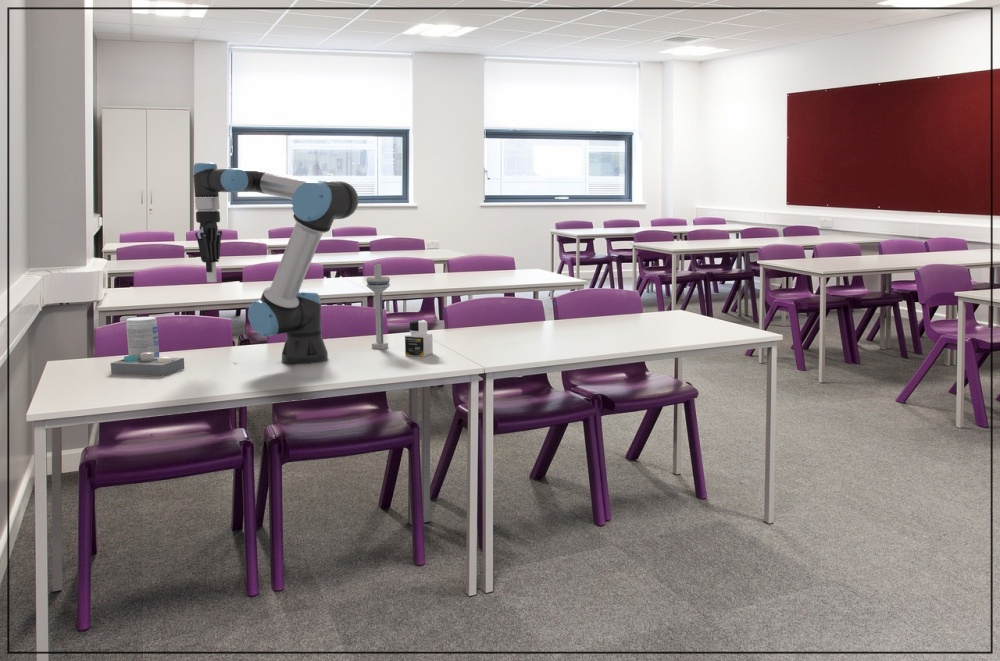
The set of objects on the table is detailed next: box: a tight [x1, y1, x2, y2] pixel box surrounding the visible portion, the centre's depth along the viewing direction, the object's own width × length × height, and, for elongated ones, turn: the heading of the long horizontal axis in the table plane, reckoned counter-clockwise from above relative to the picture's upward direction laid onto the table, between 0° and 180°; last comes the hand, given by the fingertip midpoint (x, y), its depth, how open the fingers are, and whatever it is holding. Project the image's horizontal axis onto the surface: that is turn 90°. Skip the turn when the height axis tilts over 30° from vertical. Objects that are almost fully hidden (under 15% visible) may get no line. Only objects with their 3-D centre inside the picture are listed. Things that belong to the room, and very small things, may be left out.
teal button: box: [123, 355, 138, 362], centre depth 283 cm, size 4×4×3 cm
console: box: [110, 356, 185, 377], centre depth 282 cm, size 18×12×4 cm, turn 77°
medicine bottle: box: [404, 319, 434, 358], centre depth 306 cm, size 7×7×12 cm
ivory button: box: [158, 356, 171, 363], centre depth 280 cm, size 4×4×3 cm
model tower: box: [365, 264, 391, 350], centre depth 318 cm, size 8×8×30 cm
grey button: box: [140, 352, 154, 362], centre depth 281 cm, size 4×4×3 cm
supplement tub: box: [125, 316, 160, 357], centre depth 297 cm, size 10×10×15 cm
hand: (211, 281), depth 297 cm, fingers closed
